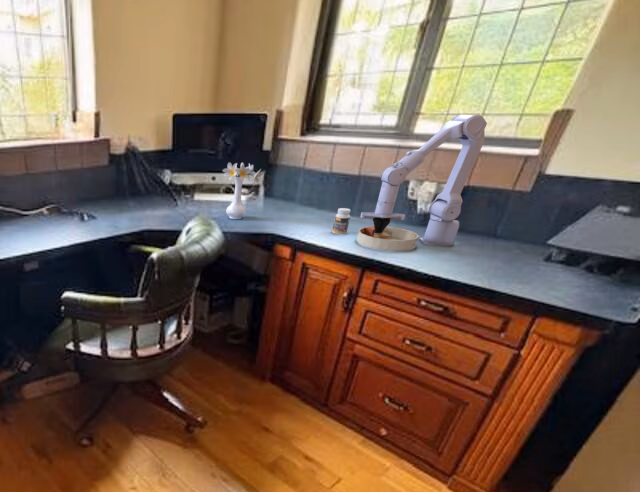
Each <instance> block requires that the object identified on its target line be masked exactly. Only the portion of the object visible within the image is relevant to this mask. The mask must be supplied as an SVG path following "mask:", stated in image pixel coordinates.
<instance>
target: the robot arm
mask: <svg viewBox="0 0 640 492" xmlns="http://www.w3.org/2000/svg"><path fill="white" fill-rule="evenodd" d="M487 125H488V122H487V121H486V119H485V118H484V116H482V115H481V114H463V113H462V114H457V115H455V116H453V117H452V118H451V119H450V120H448V121H447V122H445V124H444V125H443V126H442V127H441V129H440V130H438V131H437V132H436V133H435V134H433V136H432V137H430V139H428V140H427V141H426V142H425V143H424V144H422V146H420V147H419V148H418V149H412V150H411V151H407V152H406V153H405V155H404V156H403V157H402V158H401V159H400V160H398V161H397V162H395V163H393V165H392V166H389V167H387V168H385V169H384V171H382V172H383V173H382V174H380V180H381V187H380V191H379V195H378V199H377V202H376V205H375V209H374V211H369V212H368V211H364V212H363V211H361V213H360V219H372V222H373V226H374V228H375V233H382V232H383V230H384V229H385V228H386V227H388V225H390V223H391V220H395V221H396V220H397V221H405V218H406V214H405V213H396V212H394V207H395V204H396V201H397V197H398V193H399V190H400V186H401V184H402V183H404V182H405V180H406V178H407V176H408V175H409V174H410V173H412V172H413V171H415V169H417V168H418V167H419V166H420V165H422V164H423V163H425V158H426V157H427V156H428V155H429V154H430V153H432V152H433V151H435V150H436V149H437V148H439V147H440V146H441V145H443V144H444V143H446V142H447V141H448V140H453V139H458V140H459V142H460V143H461V145H462V146H461V149H460V151H459V153H458V156H457V158H456V160H455V162H454V165H453V167H452V170H451V171H450V174H449V176H448V178H447V181H446V183H445V185H444V188H443V190H442V191H441V192H439V193H438V194H437V195H436V197H435V199H434V200H433V201H432V202H431V204H430V205H429V206H428V213H429V215H430V216H429V220H428V222H427V223H428V224H427V226H426V229H425V233H424V235H423V237H419V239H420V240H421V241H422V242H423V243H424V244H425V245H426V244H427V245H442V246H454V243H455V240H456V238H457V234H458V232H459V229H460V221H459V220H456V219H457V218H458V217H459V216H460V215H461V213H462V205H463V202H464V201H463V198H462V195H461V194H462V191H463V189H464V187H465V186H466V183H467V181H468V179H469V177H470V175H471V172H472V170H473V167H474V166H475V163H476V161H477V159H478V156H479V154H480V152H481V150H482V148H483V145H484V144H485V141H486V139H485V138H486V137H485V136H486V135H485V134H486V132H485V129H486V127H487Z"/></svg>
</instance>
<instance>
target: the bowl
mask: <svg viewBox="0 0 640 492" xmlns="http://www.w3.org/2000/svg"><path fill="white" fill-rule="evenodd" d="M372 226H373V225H371V226H370V227H372ZM366 227H367V226H365V227H361V228H359V229H358V231H357V234H356V235H357V236H356V239H355V241H356V243H357V244H359V245H361V246H363V247H366V248H370V249H374V250H378V251H390V252H405V251H406V252H407V251H412V250H414V249H415V248H416V247H417V244H418V241H419V239H420V235H419V234H418V233H417V232H415V231H413V230H408V229H405V228H400V227H393V226H386V228H385V229H384V230H383V232H382V233H386V234H388V235H390V238H389V240H388V239H380V238H375V237H371V236H367V235H365V234H364V233H365V228H366Z"/></svg>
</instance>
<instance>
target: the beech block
mask: <svg viewBox="0 0 640 492" xmlns="http://www.w3.org/2000/svg"><path fill="white" fill-rule="evenodd" d="M373 237H375V238H380V239H388V240H389V238H390V235H388V234H386V233H374V236H373Z"/></svg>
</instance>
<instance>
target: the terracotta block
mask: <svg viewBox="0 0 640 492" xmlns="http://www.w3.org/2000/svg"><path fill="white" fill-rule="evenodd" d="M371 226H372V227H371ZM371 226H365V227H366V228H365V233H364V234H365V235H367V236H371V237H373V236H374V233H375V228H374V225H371Z"/></svg>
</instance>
